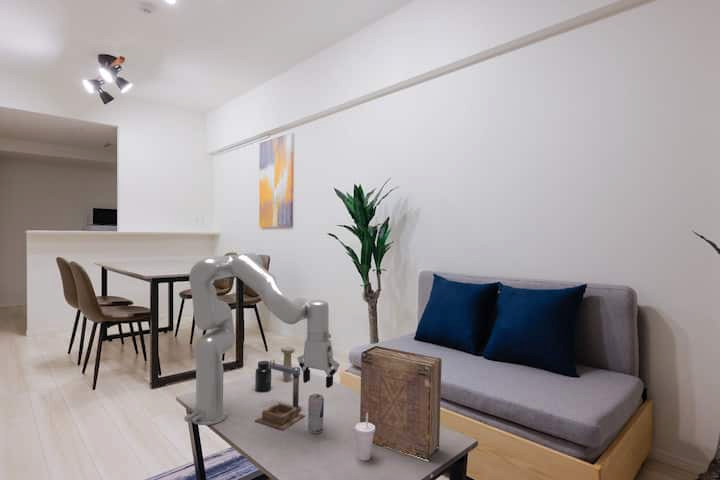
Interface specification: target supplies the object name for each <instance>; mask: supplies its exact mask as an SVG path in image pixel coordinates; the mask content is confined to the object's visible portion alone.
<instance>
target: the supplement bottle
mask: <svg viewBox="0 0 720 480" xmlns="http://www.w3.org/2000/svg"><path fill="white" fill-rule="evenodd" d="M268 364H270V361H268V360H261V361H258V362H257V368H256V369H255V374H254V375H255V382H254V383H255V385H254V386H255V387H254V389H255V391H256V392H257V393H265V392H266V393H267V392H269V391H271V389H272V369H269V368H268Z"/></svg>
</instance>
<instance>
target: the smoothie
mask: <svg viewBox="0 0 720 480" xmlns="http://www.w3.org/2000/svg"><path fill="white" fill-rule="evenodd" d="M354 431H355V434H356V436H355V437H356V443H357V453H358V459H359V460H360V461H368V460H370V459H371V456H372V449H373V444H374V443H373V437H374V432H375V426H374V425H373V424H371V423H368V413H366V422H362V423H360V422H358V423H357V424H356V425H355V427H354Z"/></svg>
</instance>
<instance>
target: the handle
mask: <svg viewBox="0 0 720 480" xmlns="http://www.w3.org/2000/svg"><path fill="white" fill-rule="evenodd" d="M280 352H281V353H283V364H282V365H283V366H288V367H292V368H293V366H292V354H293V353H294V352H295V348H294V347H292V346H291V347H290V346H284V347H281V348H280ZM282 374H283V375H282V376H283V381H284V382H290V381H291V379H292V374H290V373H286V372H282Z"/></svg>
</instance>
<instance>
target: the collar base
mask: <svg viewBox="0 0 720 480" xmlns="http://www.w3.org/2000/svg"><path fill="white" fill-rule="evenodd" d="M292 378H293V379H292V380H293V381H292V405H289V404H286V403H282V402H277V403H275V404H273V405H271V406H270V407H268V408H266V409H264V410H262V412H261V413H262V414H261V416H260V417H258V418H256V419H255V420H254V422H255V423H258V424H259V425H262V426H266V427H269V428H272V429H275V430H279V431H281V432H284V431H285V430H287V429H289V428H290V427H291V426H293V425H295V424H296V423H298V422H299V421H301V420H302V419H304V418H305V417H306V415H305V414H302V413H301V411H302V407H301V406H299V403H300V402H299V401H300V398H299V396H300V395H299V394H300V393H299V391H300V375H299V376H293V375H292Z"/></svg>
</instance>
